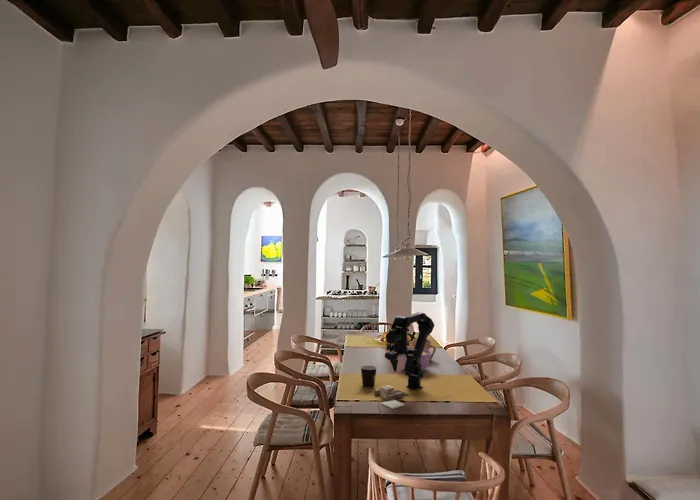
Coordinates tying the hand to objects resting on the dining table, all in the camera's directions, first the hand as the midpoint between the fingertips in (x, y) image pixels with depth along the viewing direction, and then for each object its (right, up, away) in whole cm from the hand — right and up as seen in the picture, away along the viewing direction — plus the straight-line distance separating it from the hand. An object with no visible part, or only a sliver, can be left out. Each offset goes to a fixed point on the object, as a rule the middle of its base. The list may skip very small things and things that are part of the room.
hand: (401, 370), depth 204 cm
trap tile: (-1, -12, -1) cm, 12 cm away
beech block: (-8, -12, -6) cm, 15 cm away
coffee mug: (-16, -12, +12) cm, 23 cm away
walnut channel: (-7, -12, -5) cm, 15 cm away
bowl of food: (+14, -13, +44) cm, 48 cm away
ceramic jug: (+23, -14, +67) cm, 72 cm away
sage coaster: (-6, -11, -17) cm, 22 cm away
